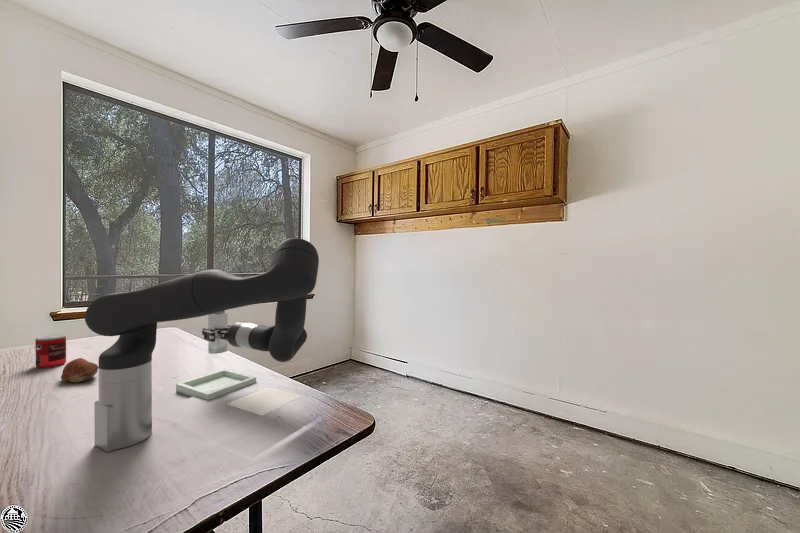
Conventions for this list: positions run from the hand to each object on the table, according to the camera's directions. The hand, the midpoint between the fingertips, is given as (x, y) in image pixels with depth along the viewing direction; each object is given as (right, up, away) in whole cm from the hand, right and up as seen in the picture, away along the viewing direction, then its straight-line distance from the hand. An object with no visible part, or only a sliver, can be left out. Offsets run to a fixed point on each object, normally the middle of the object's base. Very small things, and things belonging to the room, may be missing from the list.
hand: (213, 329), depth 105 cm
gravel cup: (+2, -7, -1) cm, 7 cm away
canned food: (-72, -17, +19) cm, 76 cm away
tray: (+2, -18, -1) cm, 19 cm away
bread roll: (-47, -18, +5) cm, 51 cm away
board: (+21, -19, -11) cm, 31 cm away
